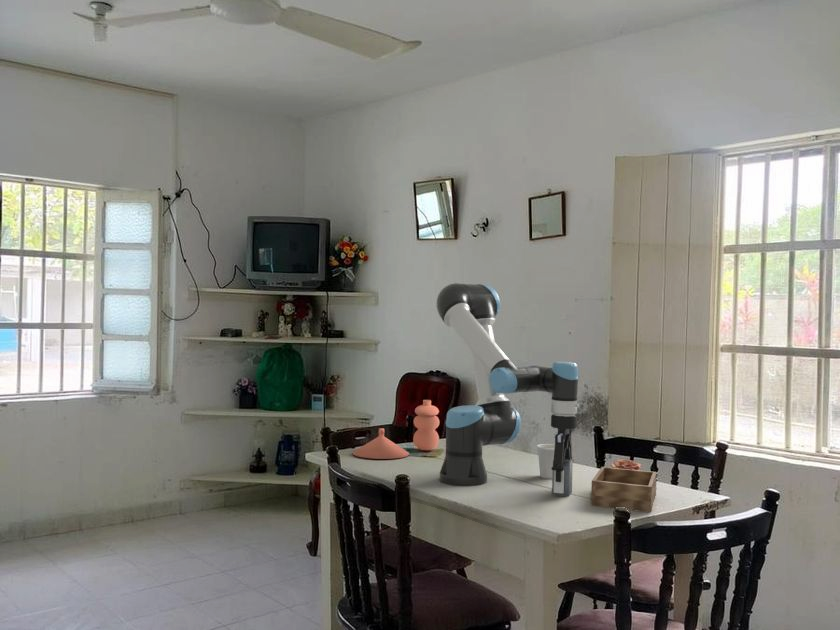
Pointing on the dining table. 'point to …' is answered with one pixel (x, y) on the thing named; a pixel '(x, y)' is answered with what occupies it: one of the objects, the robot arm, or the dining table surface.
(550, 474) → the dixie cup
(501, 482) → the dining table surface
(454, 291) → the robot arm
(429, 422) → the ceramic vessels
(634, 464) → the flower
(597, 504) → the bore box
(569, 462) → the peg
